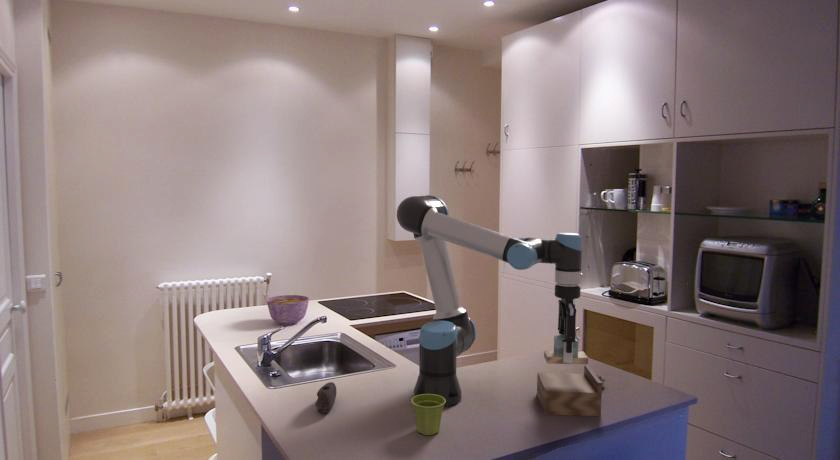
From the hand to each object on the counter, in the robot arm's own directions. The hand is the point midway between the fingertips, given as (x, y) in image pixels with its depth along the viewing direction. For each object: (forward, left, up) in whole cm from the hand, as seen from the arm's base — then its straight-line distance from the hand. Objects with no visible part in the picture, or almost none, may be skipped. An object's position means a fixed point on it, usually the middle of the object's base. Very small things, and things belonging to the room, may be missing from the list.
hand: (565, 358), depth 167 cm
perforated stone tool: (-72, -7, -15) cm, 74 cm away
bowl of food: (-113, +89, -15) cm, 145 cm away
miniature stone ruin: (+11, +15, -15) cm, 24 cm away
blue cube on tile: (0, 0, -1) cm, 1 cm away
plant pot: (-41, -21, -15) cm, 48 cm away
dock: (+1, 0, -14) cm, 14 cm away
